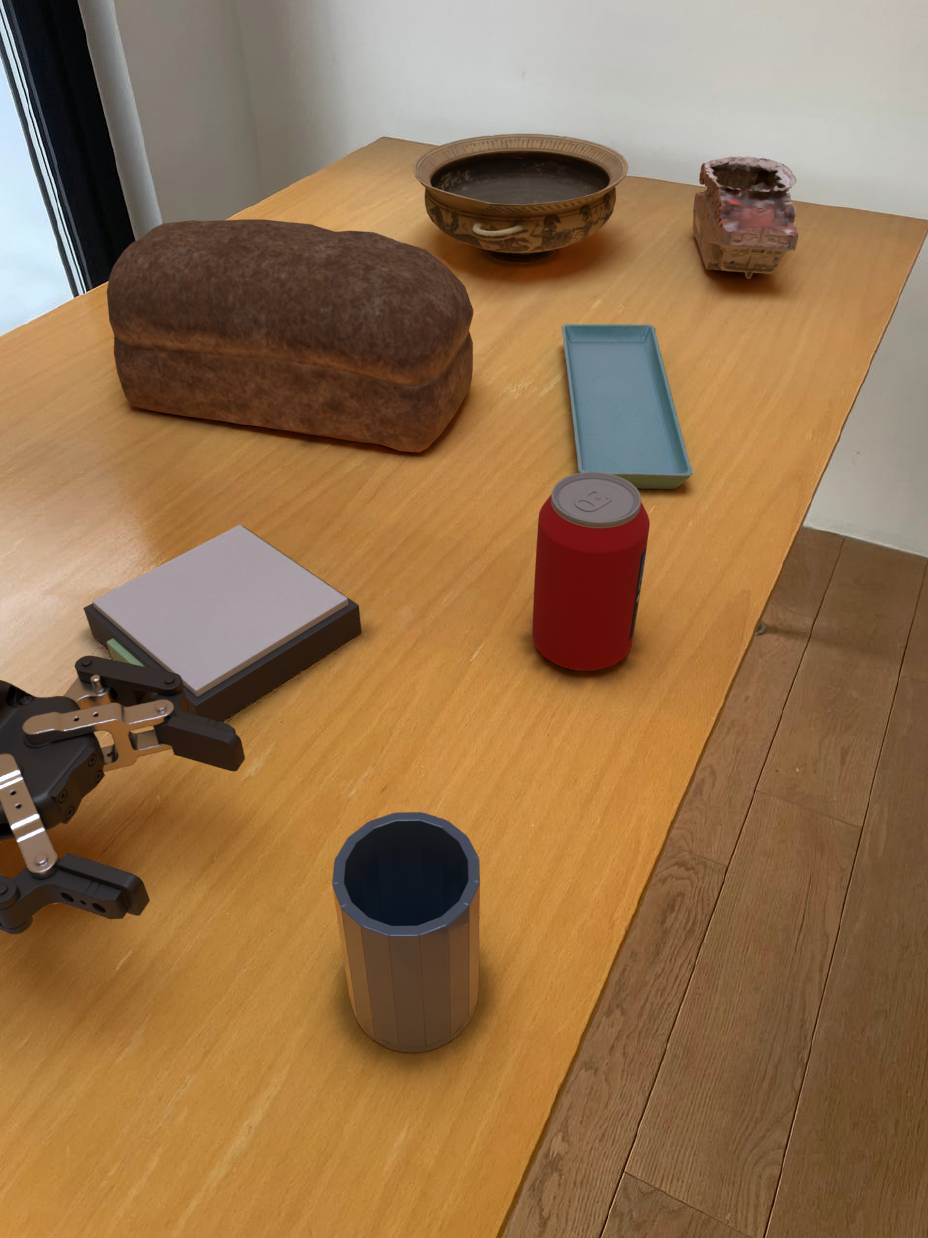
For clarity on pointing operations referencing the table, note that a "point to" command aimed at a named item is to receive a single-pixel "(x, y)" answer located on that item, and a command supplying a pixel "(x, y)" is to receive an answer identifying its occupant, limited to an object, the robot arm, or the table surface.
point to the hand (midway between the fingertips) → (194, 820)
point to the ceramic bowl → (520, 192)
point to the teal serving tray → (623, 405)
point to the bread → (292, 330)
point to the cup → (409, 929)
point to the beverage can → (589, 570)
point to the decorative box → (744, 214)
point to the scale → (225, 621)
